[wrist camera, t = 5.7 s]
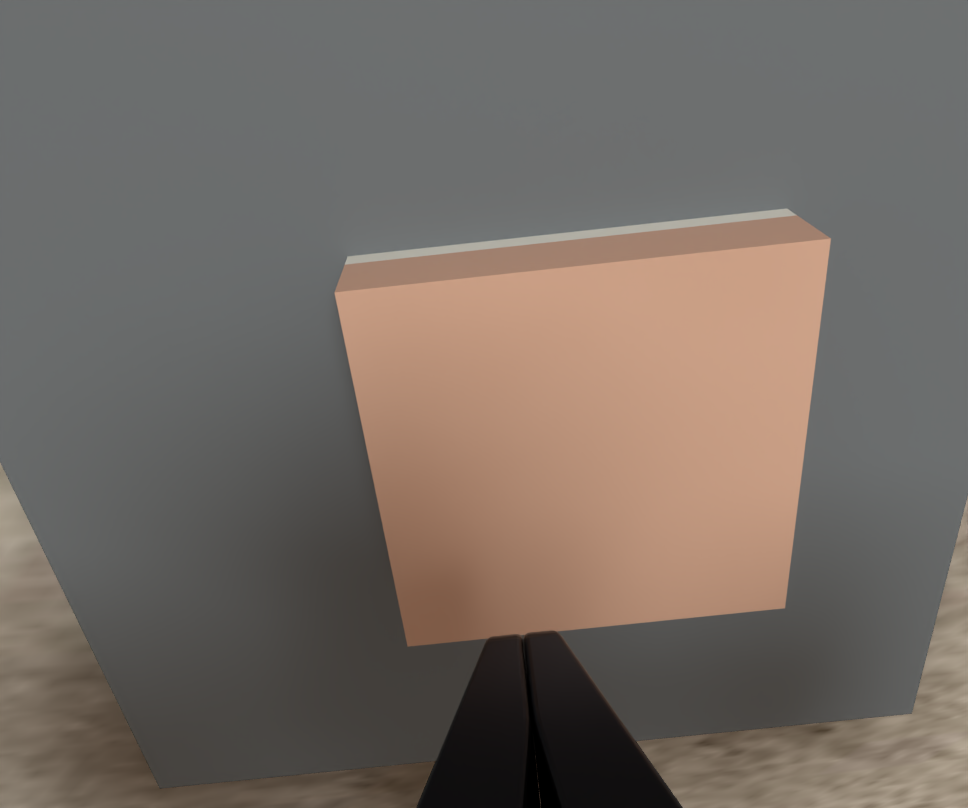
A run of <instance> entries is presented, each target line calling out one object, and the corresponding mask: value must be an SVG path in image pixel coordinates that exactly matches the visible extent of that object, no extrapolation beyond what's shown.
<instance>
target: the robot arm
mask: <svg viewBox="0 0 968 808" xmlns="http://www.w3.org/2000/svg"><path fill="white" fill-rule="evenodd" d="M523 643H524V646H523ZM524 652H525V655H524ZM525 662H526V664H525ZM526 672H527V673H526ZM535 756H536V757H535ZM536 765H537V767H536ZM537 774H538V777H537ZM538 783H539V786H538ZM539 793H540V796H539ZM540 802H541V806H540ZM417 808H683V807H682V806H681V805H680V803H679V802H678V800H677V799H676V798H675V796H674V795H673V793H672V792H671V790H670V789H669V788H668V786H667V785H666V783H665V782H664V780H663V779H662V778H661V776H660V775H659V773H658V772H657V771H656V769H655V768H654V766H653V765H652V763H651V762H650V761H649V759H648V758H647V756H646V755H645V754H644V752H643V751H642V749H641V748H640V746H639V745H638V744H637V742H636V741H635V739H634V738H633V736H632V735H631V734H630V732H629V731H628V729H627V728H626V727H625V725H624V724H623V722H622V721H621V719H620V718H619V717H618V715H617V714H616V712H615V711H614V710H613V708H612V707H611V705H610V704H609V702H608V701H607V700H606V698H605V697H604V695H603V694H602V693H601V691H600V690H599V688H598V687H597V685H596V684H595V683H594V681H593V680H592V678H591V677H590V675H589V674H588V673H587V671H586V670H585V668H584V667H583V666H582V664H581V663H580V661H579V660H578V658H577V657H576V656H575V654H574V653H573V651H572V650H571V649H570V647H569V646H568V644H567V643H566V641H565V640H564V639H563V637H562V636H561V635H560V634H559V633H558V632H557V631H555V630H550V631H540V632H530V633H527V634H525V635H524V638H523V639H522V637H521V636H520V635H519V634H510V635H500V636H492V637H489V638H488V639H487V641H486V642H485V644H484V646H483V649H482V651H481V653H480V656H479V658H478V661H477V663H476V666H475V668H474V670H473V673H472V675H471V678H470V680H469V682H468V685H467V687H466V690H465V692H464V694H463V697H462V699H461V702H460V704H459V706H458V709H457V711H456V714H455V716H454V718H453V721H452V723H451V726H450V728H449V731H448V733H447V735H446V738H445V740H444V743H443V745H442V747H441V750H440V752H439V755H438V757H437V759H436V762H435V764H434V767H433V769H432V771H431V774H430V776H429V779H428V781H427V783H426V786H425V788H424V791H423V793H422V795H421V798H420V800H419V803H418V805H417Z"/></svg>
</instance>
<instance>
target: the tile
mask: <svg viewBox="0 0 968 808" xmlns="http://www.w3.org/2000/svg"><path fill="white" fill-rule="evenodd" d="M830 242H831V238H829V237H828V236H826V235H825V234H824V233H822V232H821V231H819V230H818V229H816V228H815V227H813V226H812V225H810V224H809V223H807V222H806V221H805V220H803V219H802V218H800V217H799V216H797V215H796V214H794V213H793V212H791V211H790V210H788V209H778V210H769V211H759V212H750V213H741V214H732V215H723V216H714V217H704V218H695V219H686V220H677V221H668V222H659V223H650V224H640V225H631V226H622V227H613V228H604V229H595V230H585V231H576V232H567V233H558V234H549V235H540V236H530V237H521V238H512V239H503V240H494V241H485V242H475V243H466V244H457V245H448V246H439V247H430V248H421V249H411V250H402V251H393V252H384V253H375V254H366V255H356V256H348V257H347V260H346V262H345V265H344V268H343V270H342V273H341V276H340V279H339V281H338V284H337V287H336V290H335V292H334V293H335V298H336V302H337V307H338V312H339V317H340V322H341V327H342V331H343V336H344V341H345V346H346V351H347V356H348V360H349V365H350V370H351V375H352V380H353V385H354V389H355V394H356V399H357V404H358V409H359V414H360V418H361V423H362V428H363V433H364V438H365V443H366V448H367V452H368V457H369V462H370V467H371V472H372V477H373V481H374V486H375V491H376V496H377V501H378V506H379V510H380V515H381V520H382V525H383V530H384V535H385V539H386V544H387V549H388V554H389V559H390V564H391V568H392V573H393V578H394V583H395V588H396V593H397V598H398V602H399V607H400V612H401V617H402V622H403V627H404V631H405V636H406V641H407V646H408V647H409V646H419V645H429V644H438V643H448V642H458V641H468V640H478V639H488V638H489V637H492V636H500V635H510V634H519V635H525V634H527V633H530V632H540V631H550V630H555V631H566V630H576V629H586V628H596V627H605V626H615V625H625V624H635V623H645V622H655V621H664V620H674V619H684V618H694V617H704V616H714V615H723V614H733V613H743V612H753V611H763V610H772V609H782V608H785V604H786V596H787V588H788V579H789V571H790V563H791V555H792V547H793V539H794V531H795V523H796V515H797V507H798V499H799V491H800V483H801V475H802V467H803V459H804V451H805V443H806V435H807V427H808V419H809V411H810V403H811V395H812V387H813V379H814V371H815V363H816V355H817V347H818V339H819V331H820V322H821V314H822V306H823V298H824V290H825V282H826V274H827V266H828V258H829V250H830Z"/></svg>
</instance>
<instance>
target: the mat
mask: <svg viewBox="0 0 968 808" xmlns="http://www.w3.org/2000/svg"><path fill="white" fill-rule="evenodd" d="M778 209H788V210H790V211H791V212H793V213H794V214H796V215H797V216H799V217H800V218H802V219H803V220H805V221H806V222H807V223H809V224H810V225H812V226H813V227H815V228H816V229H818V230H819V231H821V232H822V233H824V234H825V235H826V236H828V237H829V238H831V242H830V250H829V258H828V266H827V274H826V282H825V290H824V298H823V306H822V314H821V322H820V331H819V339H818V347H817V355H816V363H815V371H814V379H813V387H812V395H811V403H810V411H809V419H808V427H807V435H806V443H805V451H804V459H803V467H802V475H801V483H800V491H799V499H798V507H797V515H796V523H795V531H794V539H793V547H792V555H791V563H790V571H789V579H788V588H787V596H786V604H785V608H782V609H772V610H763V611H753V612H743V613H733V614H723V615H714V616H704V617H694V618H684V619H674V620H664V621H655V622H645V623H635V624H625V625H615V626H605V627H596V628H586V629H576V630H566V631H557V632H558V633H559V634H560V635H561V636H562V637H563V639H564V640H565V641H566V643H567V644H568V646H569V647H570V649H571V650H572V651H573V653H574V654H575V656H576V657H577V658H578V660H579V661H580V663H581V664H582V666H583V667H584V668H585V670H586V671H587V673H588V674H589V675H590V677H591V678H592V680H593V681H594V683H595V684H596V685H597V687H598V688H599V690H600V691H601V693H602V694H603V695H604V697H605V698H606V700H607V701H608V702H609V704H610V705H611V707H612V708H613V710H614V711H615V712H616V714H617V715H618V717H619V718H620V719H621V721H622V722H623V724H624V725H625V727H626V728H627V729H628V731H629V732H630V734H631V735H632V736H633V738H634V739H635V741H642V740H652V739H662V738H672V737H682V736H692V735H702V734H712V733H722V732H732V731H742V730H752V729H762V728H772V727H782V726H792V725H802V724H812V723H822V722H832V721H842V720H852V719H863V718H873V717H883V716H893V715H903V714H912V710H913V706H914V703H915V699H916V695H917V691H918V687H919V683H920V679H921V675H922V671H923V667H924V664H925V660H926V656H927V652H928V648H929V644H930V640H931V636H932V632H933V629H934V625H935V621H936V617H937V613H938V609H939V605H940V601H941V597H942V593H943V590H944V586H945V582H946V578H947V574H948V570H949V566H950V562H951V558H952V555H953V551H954V547H955V543H956V539H957V535H958V531H959V527H960V523H961V519H962V516H963V512H964V508H965V504H966V500H967V496H968V0H0V463H1V465H2V467H3V469H4V471H5V473H6V475H7V477H8V479H9V481H10V483H11V485H12V487H13V489H14V491H15V493H16V495H17V497H18V499H19V501H20V504H21V506H22V508H23V510H24V512H25V514H26V516H27V518H28V520H29V522H30V524H31V526H32V528H33V530H34V532H35V534H36V536H37V538H38V540H39V542H40V544H41V546H42V549H43V551H44V553H45V555H46V557H47V559H48V561H49V563H50V565H51V567H52V569H53V571H54V573H55V575H56V577H57V579H58V581H59V583H60V585H61V587H62V589H63V592H64V594H65V596H66V598H67V600H68V602H69V604H70V606H71V608H72V610H73V612H74V614H75V616H76V618H77V620H78V622H79V624H80V626H81V628H82V630H83V632H84V634H85V637H86V639H87V641H88V643H89V645H90V647H91V649H92V651H93V653H94V655H95V657H96V659H97V661H98V663H99V665H100V667H101V669H102V671H103V673H104V675H105V677H106V679H107V682H108V684H109V686H110V688H111V690H112V692H113V694H114V696H115V698H116V700H117V702H118V704H119V706H120V708H121V710H122V712H123V714H124V716H125V718H126V720H127V722H128V725H129V727H130V729H131V731H132V733H133V735H134V737H135V739H136V741H137V743H138V745H139V747H140V749H141V751H142V753H143V755H144V757H145V759H146V761H147V763H148V765H149V767H150V770H151V772H152V774H153V776H154V778H155V780H156V782H157V784H158V786H159V788H170V787H180V786H190V785H200V784H210V783H220V782H230V781H240V780H250V779H260V778H270V777H280V776H290V775H300V774H310V773H320V772H330V771H340V770H350V769H360V768H371V767H381V766H391V765H401V764H411V763H421V762H431V761H436V759H437V757H438V755H439V752H440V750H441V747H442V745H443V743H444V740H445V738H446V735H447V733H448V731H449V728H450V726H451V723H452V721H453V718H454V716H455V714H456V711H457V709H458V706H459V704H460V702H461V699H462V697H463V694H464V692H465V690H466V687H467V685H468V682H469V680H470V678H471V675H472V673H473V670H474V668H475V666H476V663H477V661H478V658H479V656H480V653H481V651H482V649H483V646H484V644H485V642H486V641H487V639H478V640H468V641H458V642H448V643H438V644H429V645H419V646H409V647H408V646H407V641H406V636H405V631H404V627H403V622H402V617H401V612H400V607H399V602H398V598H397V593H396V588H395V583H394V578H393V573H392V568H391V564H390V559H389V554H388V549H387V544H386V539H385V535H384V530H383V525H382V520H381V515H380V510H379V506H378V501H377V496H376V491H375V486H374V481H373V477H372V472H371V467H370V462H369V457H368V452H367V448H366V443H365V438H364V433H363V428H362V423H361V418H360V414H359V409H358V404H357V399H356V394H355V389H354V385H353V380H352V375H351V370H350V365H349V360H348V356H347V351H346V346H345V341H344V336H343V331H342V327H341V322H340V317H339V312H338V307H337V302H336V298H335V293H334V292H335V290H336V287H337V284H338V281H339V279H340V276H341V273H342V270H343V268H344V265H345V262H346V260H347V257H348V256H356V255H366V254H375V253H384V252H393V251H402V250H411V249H421V248H430V247H439V246H448V245H457V244H466V243H475V242H485V241H494V240H503V239H512V238H521V237H530V236H540V235H549V234H558V233H567V232H576V231H585V230H595V229H604V228H613V227H622V226H631V225H640V224H650V223H659V222H668V221H677V220H686V219H695V218H704V217H714V216H723V215H732V214H741V213H750V212H759V211H769V210H778ZM520 636H521V637H522V639H523V638H524V635H520ZM523 646H524V643H523ZM524 655H525V652H524ZM525 664H526V662H525ZM526 673H527V672H526Z"/></svg>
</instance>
